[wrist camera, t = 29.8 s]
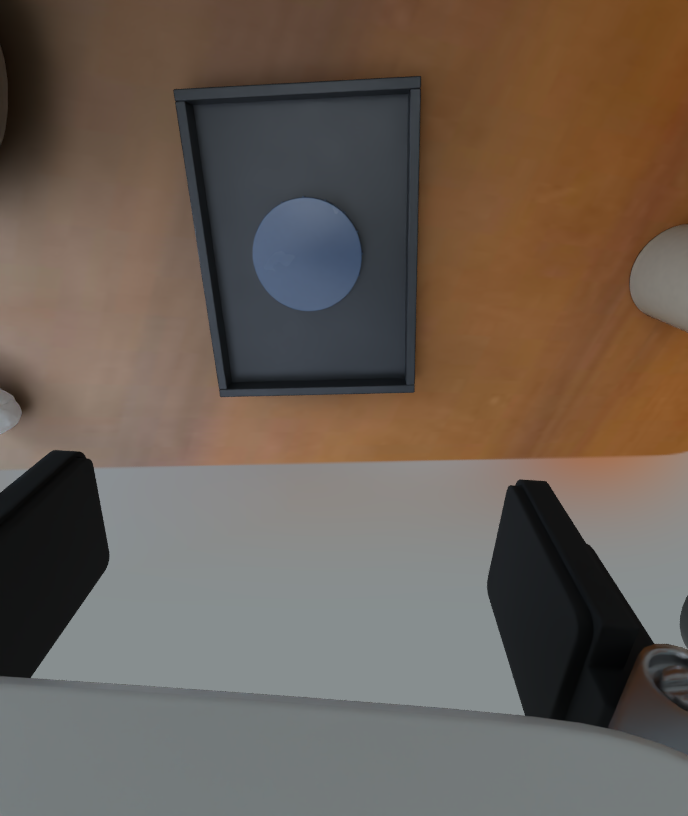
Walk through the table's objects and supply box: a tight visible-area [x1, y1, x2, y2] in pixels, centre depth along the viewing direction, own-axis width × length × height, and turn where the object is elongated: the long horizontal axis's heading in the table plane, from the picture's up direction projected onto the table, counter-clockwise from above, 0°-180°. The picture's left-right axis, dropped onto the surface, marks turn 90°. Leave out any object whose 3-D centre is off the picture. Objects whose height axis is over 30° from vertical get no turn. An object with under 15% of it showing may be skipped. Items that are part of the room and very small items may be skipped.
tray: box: [174, 76, 421, 397], centre depth 32 cm, size 19×14×2 cm
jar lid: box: [253, 196, 363, 311], centre depth 32 cm, size 7×7×2 cm
